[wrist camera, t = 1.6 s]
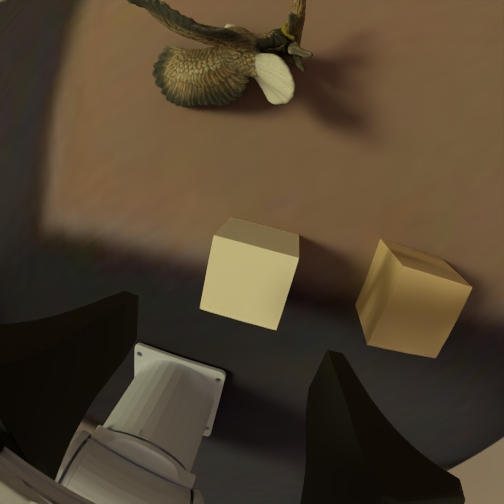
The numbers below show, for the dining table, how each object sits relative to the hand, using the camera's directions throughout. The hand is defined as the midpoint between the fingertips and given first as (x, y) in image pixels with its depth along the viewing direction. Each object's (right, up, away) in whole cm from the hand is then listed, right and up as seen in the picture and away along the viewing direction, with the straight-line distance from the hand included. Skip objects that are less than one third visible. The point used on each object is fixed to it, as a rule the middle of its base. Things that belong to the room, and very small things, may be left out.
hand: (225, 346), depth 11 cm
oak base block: (+11, +1, +9) cm, 15 cm away
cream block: (+1, +3, +10) cm, 11 cm away
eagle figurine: (-1, +16, +6) cm, 17 cm away
